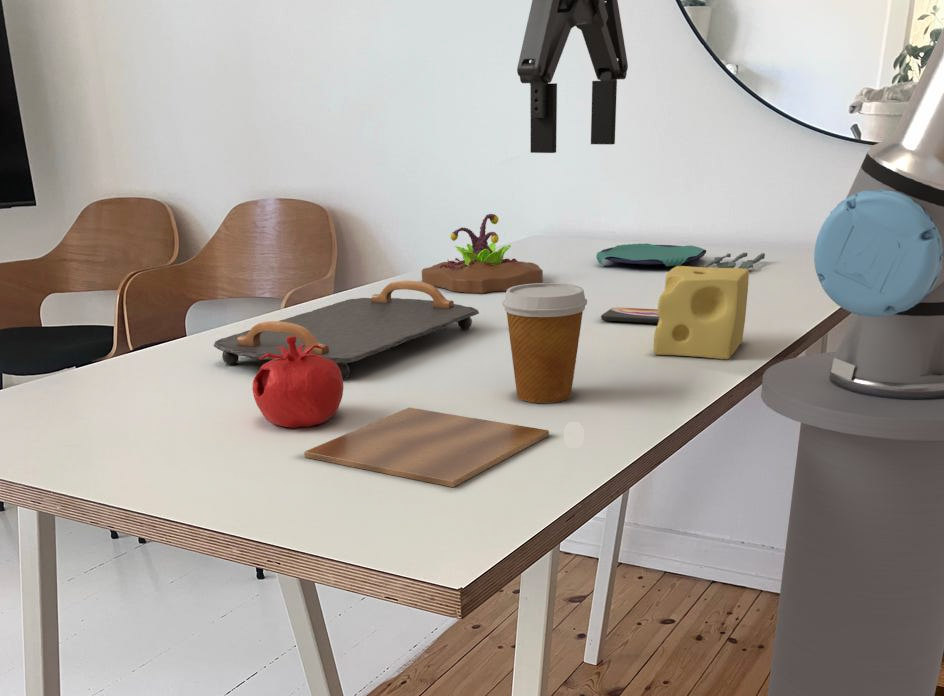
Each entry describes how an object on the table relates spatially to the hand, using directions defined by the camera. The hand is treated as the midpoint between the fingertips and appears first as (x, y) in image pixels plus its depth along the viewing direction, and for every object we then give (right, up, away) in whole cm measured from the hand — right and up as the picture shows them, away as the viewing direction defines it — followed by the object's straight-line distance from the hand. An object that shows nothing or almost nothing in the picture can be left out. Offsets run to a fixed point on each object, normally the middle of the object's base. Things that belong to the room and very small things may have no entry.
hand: (574, 148), depth 121 cm
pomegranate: (-30, -30, +1) cm, 43 cm away
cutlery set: (+28, +16, +85) cm, 91 cm away
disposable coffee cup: (-3, -26, +7) cm, 27 cm away
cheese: (+19, -15, +26) cm, 36 cm away
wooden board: (-16, -34, -9) cm, 39 cm away
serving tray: (-27, -13, +32) cm, 44 cm away
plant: (-8, +9, +74) cm, 75 cm away
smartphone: (+16, -7, +42) cm, 46 cm away
